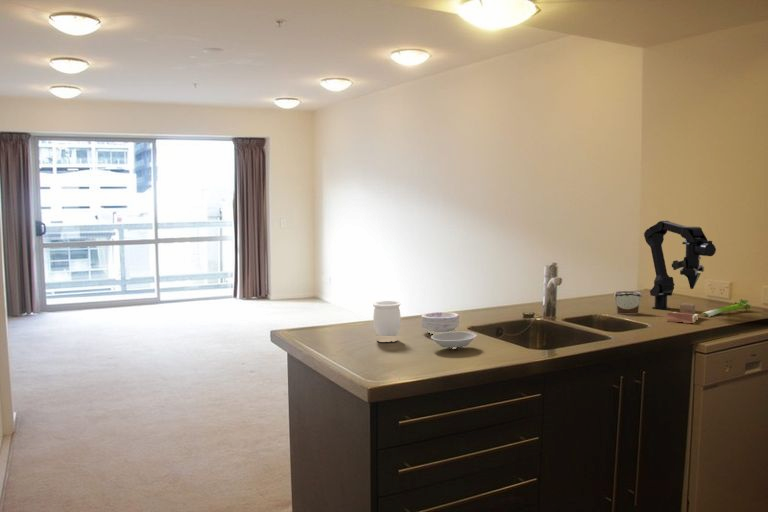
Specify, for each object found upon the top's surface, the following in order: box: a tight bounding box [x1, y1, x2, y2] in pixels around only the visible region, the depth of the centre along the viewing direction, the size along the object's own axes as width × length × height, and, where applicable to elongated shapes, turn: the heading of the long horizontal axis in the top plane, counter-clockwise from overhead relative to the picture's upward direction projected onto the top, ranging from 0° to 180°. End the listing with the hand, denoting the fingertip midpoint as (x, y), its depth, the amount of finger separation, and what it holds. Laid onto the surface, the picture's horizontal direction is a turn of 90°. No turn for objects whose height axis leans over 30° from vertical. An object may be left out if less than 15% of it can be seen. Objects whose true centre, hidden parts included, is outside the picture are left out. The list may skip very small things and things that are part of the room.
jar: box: [372, 300, 402, 336], centre depth 238 cm, size 11×10×15 cm
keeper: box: [679, 302, 696, 315], centre depth 273 cm, size 5×5×6 cm
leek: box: [700, 299, 752, 318], centre depth 281 cm, size 6×7×30 cm
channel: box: [666, 311, 699, 324], centre depth 266 cm, size 11×10×4 cm
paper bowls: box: [421, 311, 460, 332], centre depth 250 cm, size 15×15×8 cm
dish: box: [430, 331, 478, 349], centre depth 223 cm, size 18×14×5 cm
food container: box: [613, 290, 643, 315], centre depth 287 cm, size 12×6×10 cm, turn 84°
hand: (691, 288), depth 278 cm, fingers closed
